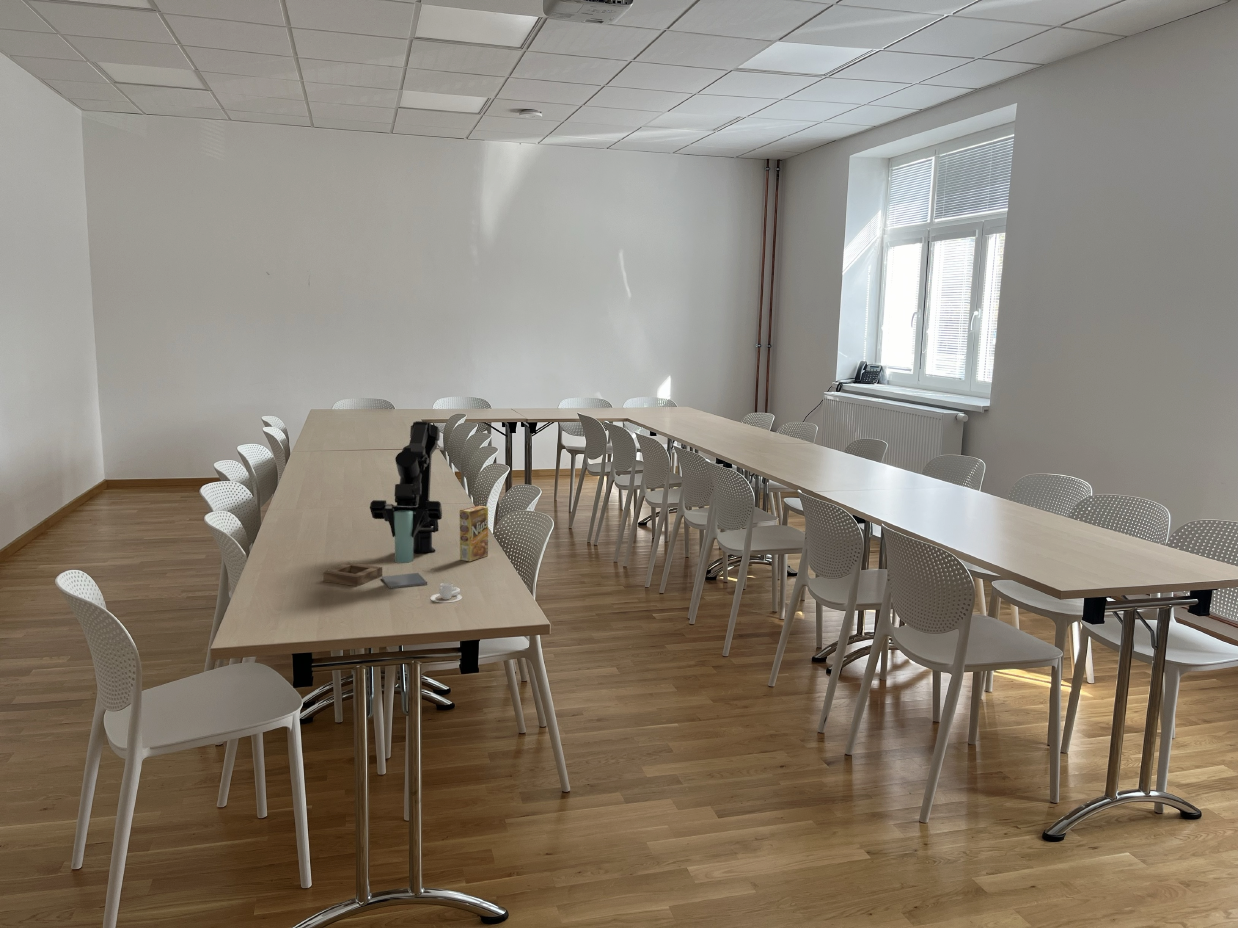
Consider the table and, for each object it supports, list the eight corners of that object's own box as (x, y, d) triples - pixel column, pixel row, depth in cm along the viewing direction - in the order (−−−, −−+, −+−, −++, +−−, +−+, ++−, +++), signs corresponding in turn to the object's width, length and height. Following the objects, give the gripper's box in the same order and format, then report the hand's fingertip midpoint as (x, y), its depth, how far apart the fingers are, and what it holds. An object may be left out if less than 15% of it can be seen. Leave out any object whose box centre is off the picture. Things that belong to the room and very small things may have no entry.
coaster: (381, 578, 237) (381, 576, 237) (418, 574, 242) (418, 572, 242) (389, 588, 228) (389, 586, 228) (427, 584, 233) (427, 582, 233)
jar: (391, 560, 234) (390, 511, 232) (405, 557, 238) (405, 509, 235) (402, 564, 231) (401, 514, 229) (416, 560, 235) (416, 512, 232)
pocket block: (349, 571, 244) (349, 562, 243) (382, 575, 240) (382, 566, 239) (323, 581, 233) (323, 572, 233) (357, 586, 230) (357, 577, 229)
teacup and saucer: (454, 592, 228) (454, 577, 227) (470, 599, 222) (470, 584, 222) (424, 598, 222) (424, 583, 222) (440, 606, 216) (440, 590, 216)
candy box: (470, 562, 256) (470, 511, 254) (458, 560, 258) (459, 509, 256) (488, 555, 264) (489, 506, 262) (477, 553, 266) (477, 504, 264)
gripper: (370, 470, 234) (362, 520, 225) (440, 472, 235) (435, 520, 226) (377, 493, 243) (369, 542, 234) (444, 494, 244) (439, 542, 235)
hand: (402, 536), depth 232 cm, fingers closed on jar, 5 cm apart
